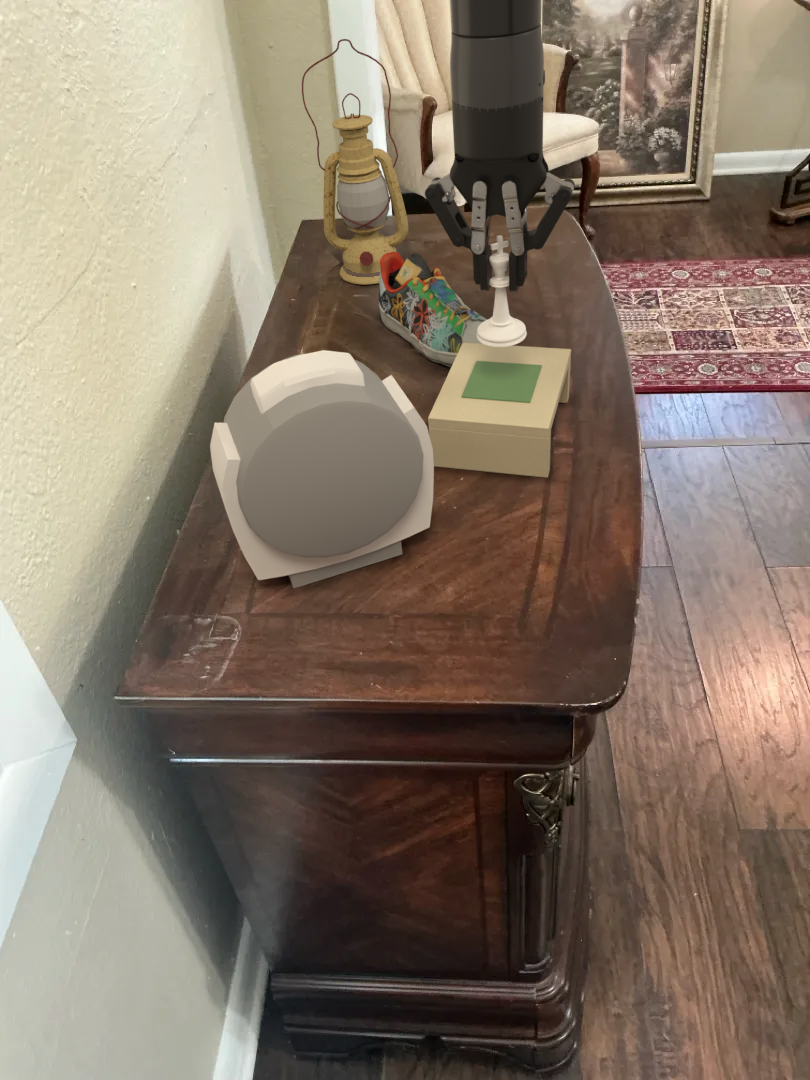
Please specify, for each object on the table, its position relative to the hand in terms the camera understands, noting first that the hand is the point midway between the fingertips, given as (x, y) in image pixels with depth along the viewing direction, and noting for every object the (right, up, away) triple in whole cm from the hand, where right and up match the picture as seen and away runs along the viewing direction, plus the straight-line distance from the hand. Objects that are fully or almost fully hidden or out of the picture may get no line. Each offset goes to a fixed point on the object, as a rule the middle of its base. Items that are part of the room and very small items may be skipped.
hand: (501, 287), depth 82 cm
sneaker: (-5, +1, +27) cm, 27 cm away
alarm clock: (-15, -26, -1) cm, 30 cm away
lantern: (-14, +15, +43) cm, 48 cm away
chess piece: (0, -4, +3) cm, 5 cm away
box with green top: (+1, -12, +11) cm, 16 cm away
